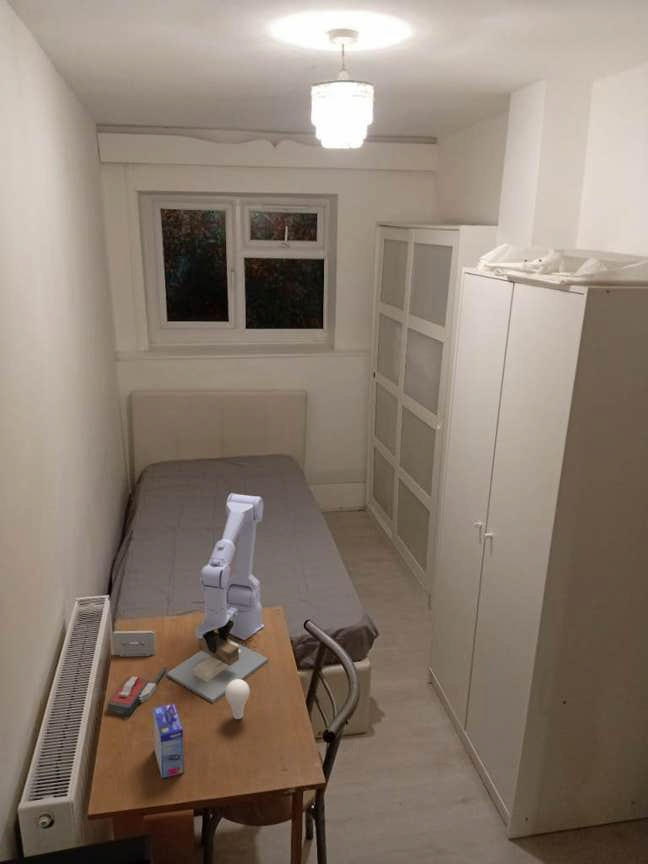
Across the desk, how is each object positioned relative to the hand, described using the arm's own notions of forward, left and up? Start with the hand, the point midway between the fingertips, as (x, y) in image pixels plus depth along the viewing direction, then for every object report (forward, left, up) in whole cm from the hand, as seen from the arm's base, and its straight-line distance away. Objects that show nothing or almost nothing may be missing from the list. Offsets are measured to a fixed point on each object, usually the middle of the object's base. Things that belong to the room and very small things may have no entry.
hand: (217, 647), depth 185 cm
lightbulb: (+11, +18, -7) cm, 22 cm away
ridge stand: (0, 0, -7) cm, 7 cm away
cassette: (+10, -24, -7) cm, 27 cm away
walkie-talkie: (+20, -10, -8) cm, 24 cm away
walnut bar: (0, 0, -2) cm, 2 cm away
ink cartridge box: (+31, +15, -7) cm, 35 cm away
